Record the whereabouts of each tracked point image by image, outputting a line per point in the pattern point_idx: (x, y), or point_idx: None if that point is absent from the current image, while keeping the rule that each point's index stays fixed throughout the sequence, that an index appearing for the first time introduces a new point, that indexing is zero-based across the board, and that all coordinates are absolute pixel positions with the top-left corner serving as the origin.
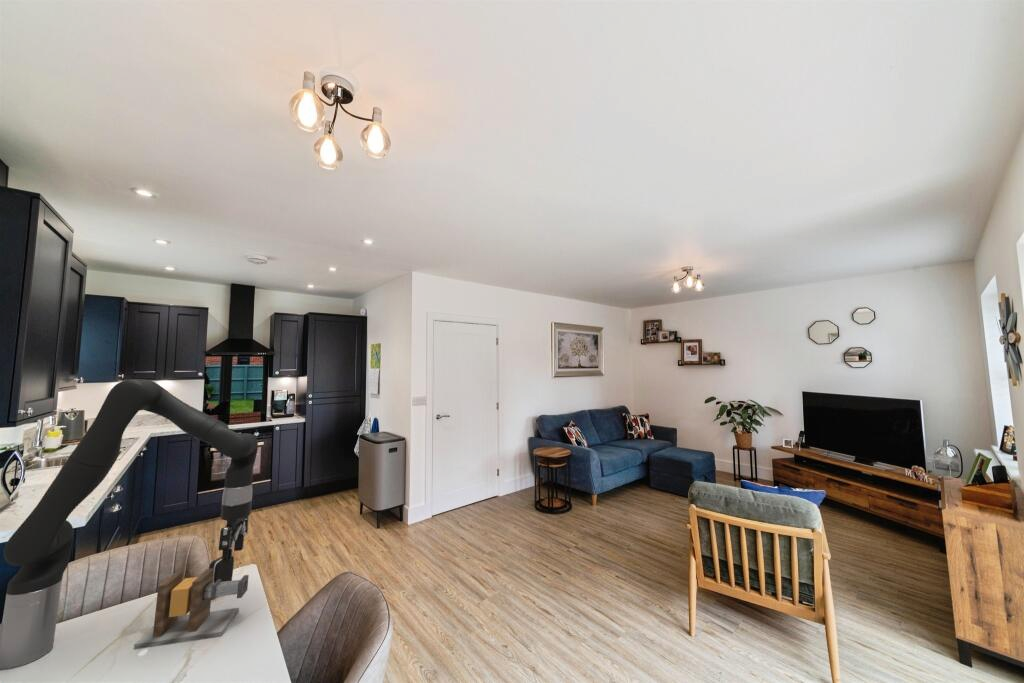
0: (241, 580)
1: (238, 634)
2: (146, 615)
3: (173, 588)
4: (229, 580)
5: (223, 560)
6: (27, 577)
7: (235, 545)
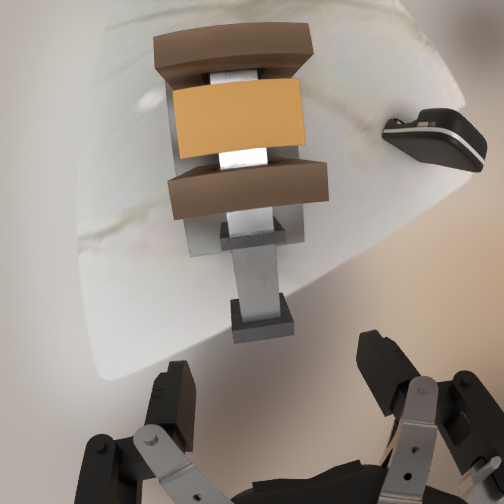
0: (247, 334)
1: (196, 288)
2: (322, 12)
3: None
4: (429, 160)
5: (155, 385)
6: None
7: (374, 355)
